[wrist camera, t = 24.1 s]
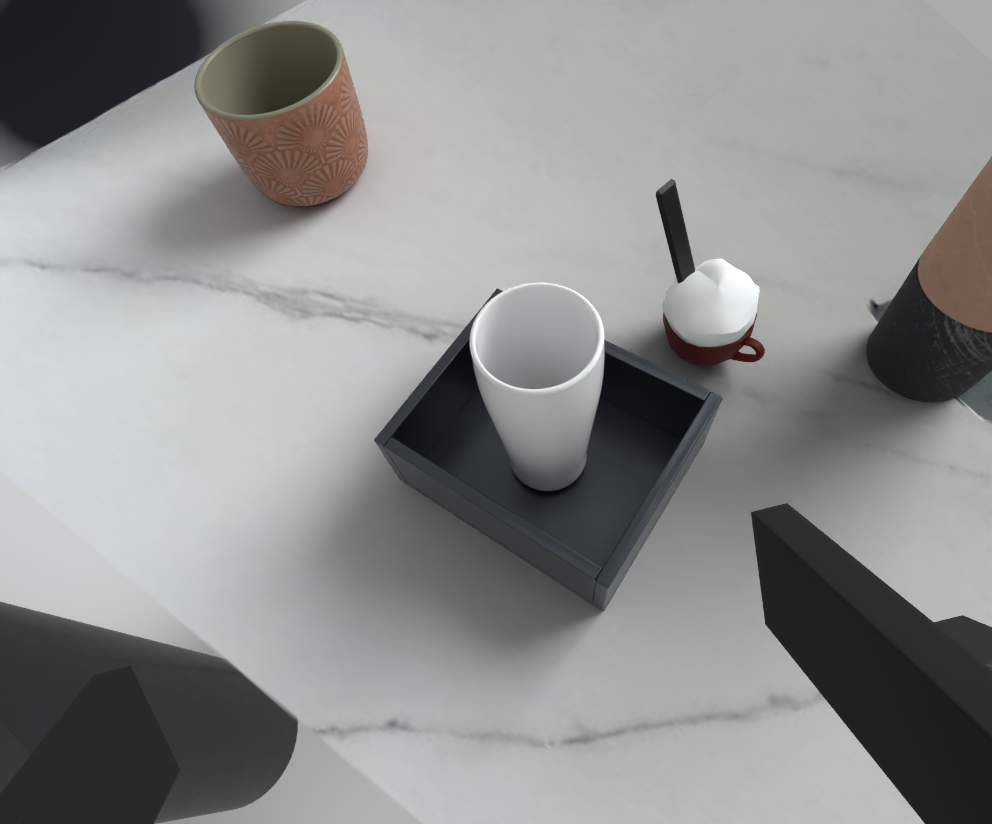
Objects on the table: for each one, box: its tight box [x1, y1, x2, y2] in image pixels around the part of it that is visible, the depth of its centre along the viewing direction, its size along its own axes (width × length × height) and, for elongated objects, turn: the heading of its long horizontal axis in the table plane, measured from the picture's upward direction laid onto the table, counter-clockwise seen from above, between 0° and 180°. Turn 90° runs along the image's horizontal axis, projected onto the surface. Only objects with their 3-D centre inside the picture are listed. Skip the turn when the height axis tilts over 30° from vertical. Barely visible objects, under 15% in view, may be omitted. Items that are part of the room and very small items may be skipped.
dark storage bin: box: [374, 289, 722, 611], centre depth 42 cm, size 17×14×7 cm
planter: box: [195, 21, 368, 206], centre depth 57 cm, size 12×12×11 cm
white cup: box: [470, 283, 605, 491], centre depth 38 cm, size 7×7×15 cm
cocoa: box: [656, 179, 765, 365], centre depth 43 cm, size 10×6×12 cm, turn 19°
